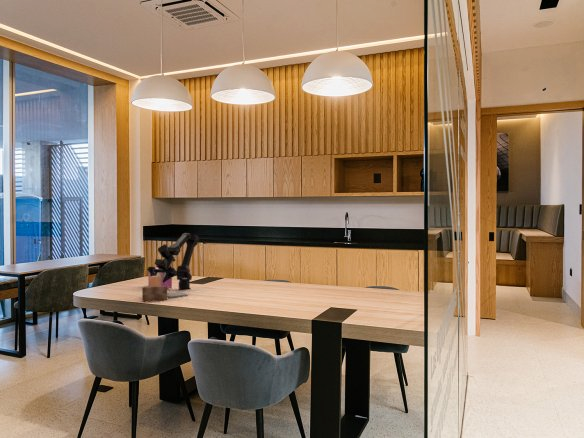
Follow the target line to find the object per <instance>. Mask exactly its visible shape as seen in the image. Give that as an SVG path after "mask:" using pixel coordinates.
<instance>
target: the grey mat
mask: <svg viewBox="0 0 584 438" xmlns="http://www.w3.org/2000/svg"><path fill="white" fill-rule="evenodd" d="M183 296H184V297H188V296H189V294H188V293H185V292H181V291H175V292H169V293H168V292H167V297H168V298H167V299H174V298H175V297H176V298H182V297H183ZM184 297H183V298H184Z"/></svg>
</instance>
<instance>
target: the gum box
mask: <svg viewBox="0 0 584 438" xmlns="http://www.w3.org/2000/svg"><path fill="white" fill-rule="evenodd" d="M154 267H155V268H156V269H159V268H158V267H157V265H155V266H154ZM147 274H148V276H147V277H148V278H147V279H148V285H149V277H150V273H149V271H148V270H147ZM165 275H166V273H161V272H157V275H156V276H161V286H167V288H173V277H172V278H170V279H169V280H167V281H166V282H164V283H163V279H164V277H165Z"/></svg>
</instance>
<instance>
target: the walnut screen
mask: <svg viewBox="0 0 584 438" xmlns="http://www.w3.org/2000/svg"><path fill="white" fill-rule="evenodd" d="M141 289H142V290H141V291H142V294H141V295H142V302H145V303H147V302H146V301H148V302H152V300H155V301H160V302H161V301H162V302H163V301H164V300H165V301H168V298H167V293H168V289H167V286H158V287H149V286H143V287H141Z"/></svg>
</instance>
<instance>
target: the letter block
mask: <svg viewBox="0 0 584 438" xmlns="http://www.w3.org/2000/svg"><path fill="white" fill-rule="evenodd" d="M158 286H161V276H150V277H149V286H148V287H158Z"/></svg>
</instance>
